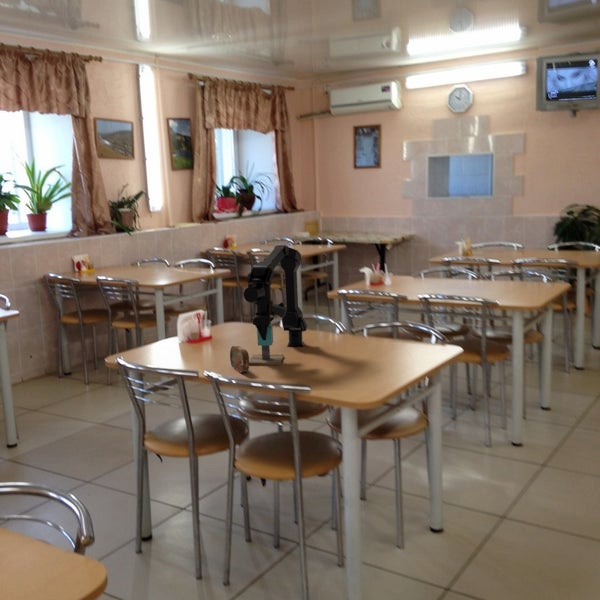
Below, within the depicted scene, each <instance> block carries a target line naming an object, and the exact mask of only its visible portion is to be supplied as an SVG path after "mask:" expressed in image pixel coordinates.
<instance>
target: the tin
mask: <svg viewBox="0 0 600 600" xmlns="http://www.w3.org/2000/svg"><path fill="white" fill-rule="evenodd" d="M229 359H230V360H229V361H230V366H231V367H233V368H234V369H233V368H232V369H233V370H234V371H236V370H237V372H238V373H239V374H241V373H247V372H248V371H249V369H250V365H249V361H250V355H249V352H248V351H247V349H245V348H243V347H242V346H241V345H233V346H231V348H230V351H229Z"/></svg>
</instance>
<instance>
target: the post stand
mask: <svg viewBox="0 0 600 600" xmlns="http://www.w3.org/2000/svg"><path fill="white" fill-rule="evenodd" d="M270 349H271V348H270V345H262V346H261V354H252V356H251V357H250V358H249V366H281V364H282V361H283V360H284V358H285V356H284V354H270V353H271V352H270V351H271V350H270Z"/></svg>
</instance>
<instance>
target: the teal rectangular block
mask: <svg viewBox="0 0 600 600" xmlns="http://www.w3.org/2000/svg"><path fill="white" fill-rule="evenodd" d="M273 330H274V329H273V325H272V324H270V325H269V326H268V328H267V336H266V340H263V339H262V337H261V335H260V333H259V331H258V329H257V328H256V334H257V335H256V336H257V346H261V347H262V345H269V346H273V343H274V331H273Z"/></svg>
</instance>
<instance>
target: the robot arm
mask: <svg viewBox="0 0 600 600" xmlns="http://www.w3.org/2000/svg"><path fill="white" fill-rule="evenodd" d="M301 260H302V254H301V252H299V250H297V249H295V248H292V247H290V246H288V245H287V244H286V245H285V244H280V245H279V244H277V245H275V246H274V248H273V250H272V251H271V252H270V253H269V254H268V255H267V257H265V259H264V260H263V261H259V262H256V263H255V264H254V265H253V266H252V268H251V271H250V273H249V278H248V281H247V287H246V288H245V289H244V291H243V298H244V300H245V301H246V302H248V303H252V304H253V303H254V302H255V303H254V304H255V307H256V312H255V316H254V317H253V319H252V325H254V326H255V328H256V330H257V329H258V331H259V333H260V335H261V337H262V339H263V340H266V336H267V328H268V326H269V325H272V321H274V319H275V316H277V317H279V318H281V324H282V327H283V328H282V329H283V331H284V332H285V331H286V332H287V333H288V342H287V344H286V345H287V347H303V346H304V345H305V341H303V333H304V332H307V329H308V324H307V322H306V320H305V318H304V315H303V311H302V310H301V308H300V306H299V296H298V295H299V293H298V277H297V276H298V273H297V272H298V269H299V268H300V265H301ZM278 265H280V267H281V269H282V270H283V272H284V281H285V283H284V284H285V286H284V287H285V302H279V303H278V304H277V303H274V301H273V299H272V291H271V289H272V287H271V285H273V282H272V278H273V277H274V275H275V268H276V267H277V266H278ZM285 303H286V305H285ZM272 316H273V317H272Z"/></svg>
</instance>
